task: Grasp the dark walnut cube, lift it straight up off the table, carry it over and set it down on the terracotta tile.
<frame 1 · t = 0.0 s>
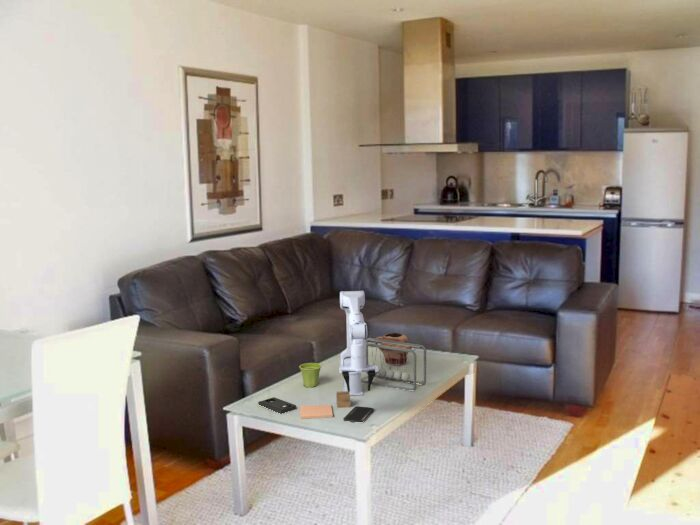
hand: (358, 390, 273), 10 cm above the table, tool pointing down, fingers open, 7 cm apart
walnut cube: (343, 405, 287), on the table
plant pot: (310, 385, 312), on the table
newton's cradle: (390, 383, 314), on the table
vhs tape: (277, 408, 286), on the table
decorative planter: (392, 363, 345), on the table
terracotta tile: (316, 412, 279), on the table
phone: (358, 416, 275), on the table
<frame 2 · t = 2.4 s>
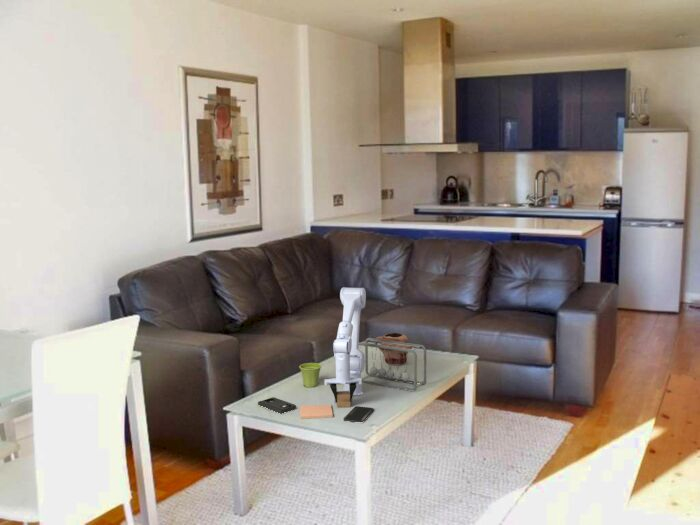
hand: (343, 401, 286), 1 cm above the table, tool pointing down, fingers closed on walnut cube, 5 cm apart
walnut cube: (343, 405, 287), on the table, touching gripper
everything else where it was.
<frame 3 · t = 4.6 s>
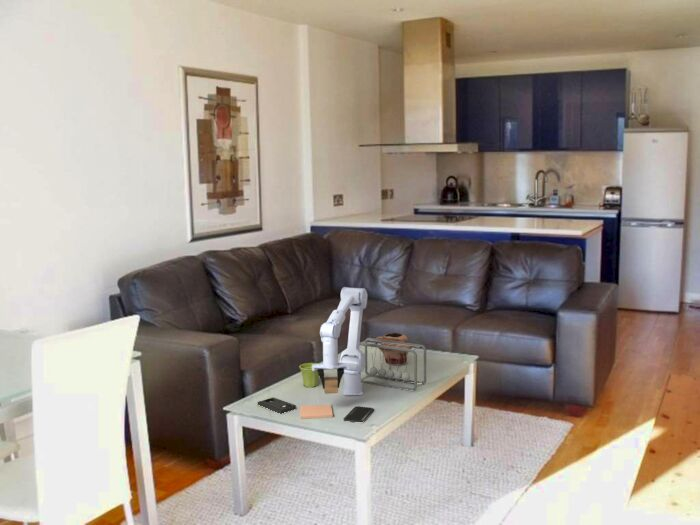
hand: (330, 387, 282), 9 cm above the table, tool pointing down, fingers closed on walnut cube, 5 cm apart
walnut cube: (331, 391, 282), point 7 cm above the table, touching gripper
everything else where it was.
when the fingers open (4 cm above the table, at t = 6.8 s): walnut cube drops 1 cm, resting on terracotta tile.
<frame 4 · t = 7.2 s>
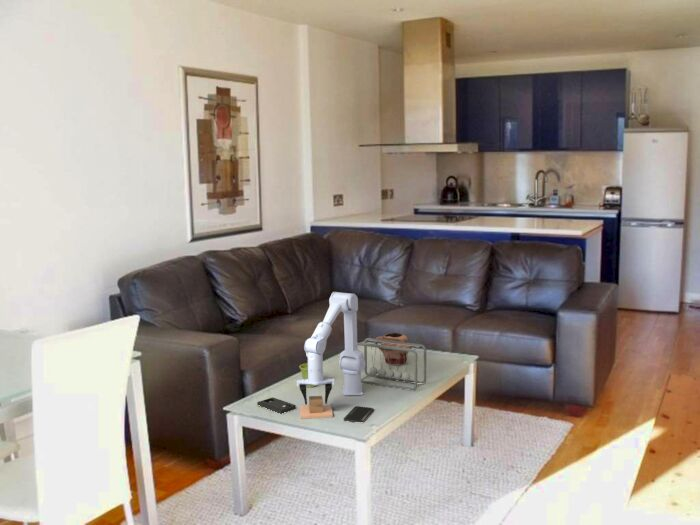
hand: (316, 403, 278), 4 cm above the table, tool pointing down, fingers open, 7 cm apart
walnut cube: (316, 410, 279), point 1 cm above the table, touching terracotta tile
everything else where it was.
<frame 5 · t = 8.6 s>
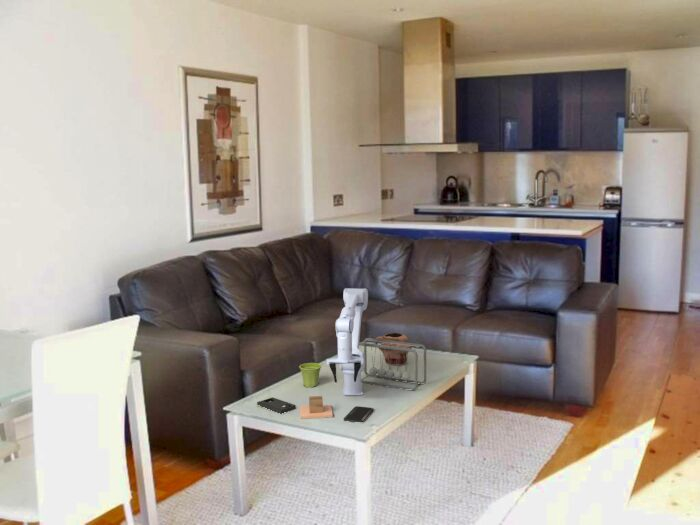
hand: (345, 381, 286), 9 cm above the table, tool pointing down, fingers open, 7 cm apart
nothing on the table moved.
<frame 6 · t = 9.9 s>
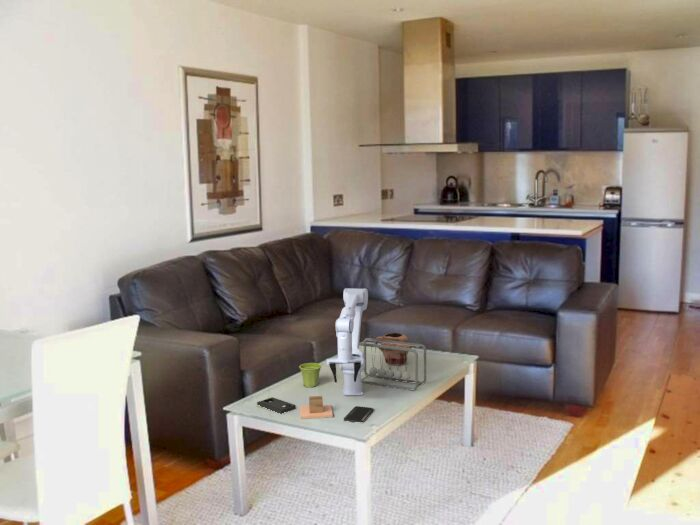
hand: (345, 381, 286), 9 cm above the table, tool pointing down, fingers open, 7 cm apart
nothing on the table moved.
at the end: walnut cube inside the target area on the terracotta tile (0.1 cm from its centre), point 0.8 cm above the terracotta tile's base; walnut cube tilted 0°; the gripper is holding nothing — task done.
